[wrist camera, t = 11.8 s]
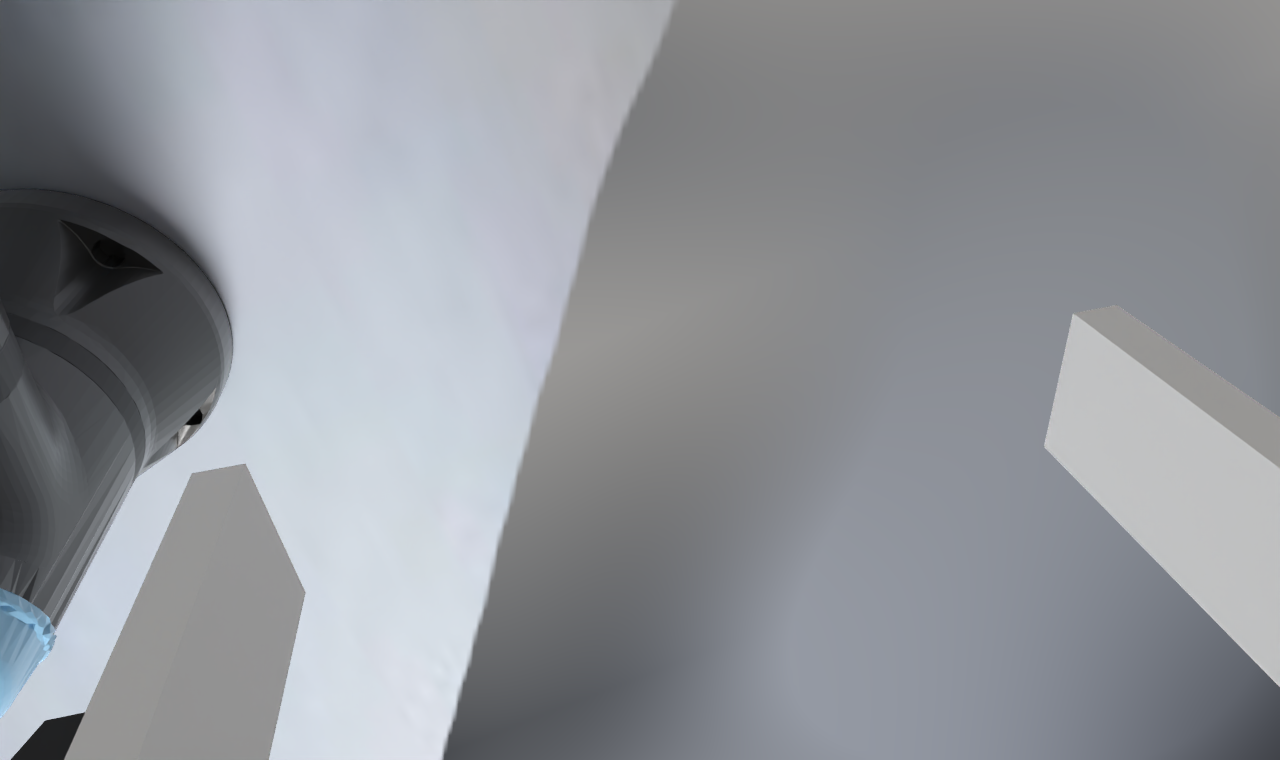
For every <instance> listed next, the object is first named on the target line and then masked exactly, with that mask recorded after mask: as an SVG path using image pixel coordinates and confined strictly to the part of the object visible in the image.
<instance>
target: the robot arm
mask: <svg viewBox="0 0 1280 760" xmlns="http://www.w3.org/2000/svg"><path fill="white" fill-rule="evenodd" d="M232 354H233V344H232V334H231V329H230V324H229V321H228V318H227V314H226V312H225V309H224V307H223V304H222V302H221V300H220V298H219V296H218V294H217V293H216V291H215V289H214V287H213V286H212V284H211V283H210V281H209V280H208V278H207V277H206V276H205V274H204V273H203V272H202V271H201V269H200V268H199V267H198V266H197V265H196V264H195V263H194V261H193V260H192V259H191V258H190V257H189V256H188V255H187V254H186V253H185V252H184V251H183V250H181V249H180V248H179V247H178V246H177V245H176V244H175V243H173V242H172V241H171V240H169V239H168V238H167V237H166V236H164V235H163V234H161V233H160V232H159V231H157V230H156V229H154V228H153V227H151V226H149V225H148V224H146V223H144V222H143V221H141V220H139V219H137V218H135V217H133V216H132V215H130V214H128V213H125V212H123V211H121V210H119V209H117V208H114V207H112V206H109V205H106V204H104V203H101V202H98V201H95V200H92V199H88V198H85V197H81V196H77V195H72V194H68V193H62V192H56V191H48V190H36V189H15V190H3V191H0V718H1V717H2V716H3V715H4V714H5V712H6V711H7V710H8V709H9V707H10V706H11V704H12V703H13V701H14V700H15V698H16V696H17V695H18V693H19V692H20V690H21V689H22V687H23V686H24V685H25V683H26V682H27V680H28V679H29V677H30V676H31V674H32V673H33V671H34V670H35V668H36V667H37V665H38V664H39V663H41V662H42V661H43V660H44V659H45V658H46V657H47V656H48V655H49V653H50V651H51V650H52V648H53V645H54V642H55V641H54V640H55V638H56V635H54V633H55V631H56V629H57V627H58V625H59V623H60V621H61V619H62V617H63V616H64V614H65V612H66V610H67V608H68V606H69V604H70V602H71V600H72V599H73V597H74V595H75V593H76V591H77V589H78V587H79V585H80V583H81V581H82V580H83V578H84V576H85V574H86V572H87V570H88V568H89V566H90V564H91V563H92V561H93V559H94V557H95V555H96V553H97V551H98V549H99V547H100V545H101V544H102V542H103V540H104V538H105V536H106V534H107V532H108V530H109V528H110V527H111V525H112V523H113V521H114V519H115V517H116V515H117V513H118V511H119V509H120V508H121V506H122V504H123V502H124V500H125V498H126V496H127V494H128V492H129V490H130V488H131V486H132V484H133V482H134V481H135V479H136V478H137V477H138V476H140V475H141V474H142V473H144V472H145V471H147V470H148V469H149V468H151V467H152V466H154V465H155V464H156V463H158V462H159V461H160V460H162V459H163V458H165V457H166V456H167V455H169V454H170V453H172V452H173V451H174V450H176V449H177V448H178V447H180V446H181V445H182V444H184V443H185V442H186V441H187V440H189V439H190V438H191V437H192V436H193V435H194V434H195V433H196V432H197V431H198V430H199V429H200V428H201V427H202V425H203V424H204V423H205V422H206V420H207V419H208V418H209V416H210V415H211V413H212V411H213V410H214V408H215V406H216V404H217V402H218V399H219V397H220V395H221V393H222V391H223V389H224V387H225V384H226V382H227V379H228V376H229V373H230V369H231V363H232ZM1044 447H1045V448H1046V449H1047V450H1048V451H1049V452H1050V453H1051V454H1052V455H1053V456H1054V457H1055V458H1056V459H1057V460H1058V461H1059V462H1060V463H1061V464H1062V465H1063V466H1064V467H1065V468H1066V469H1067V471H1068V472H1069V473H1070V474H1071V475H1072V476H1074V478H1075V479H1076V480H1077V481H1078V482H1079V483H1080V484H1081V485H1082V486H1084V488H1085V489H1086V490H1087V491H1088V492H1089V493H1090V494H1091V495H1092V496H1093V497H1094V498H1095V499H1096V500H1097V501H1098V502H1099V503H1100V504H1101V505H1102V506H1103V507H1104V508H1105V509H1106V510H1107V511H1108V512H1109V513H1110V514H1111V515H1112V516H1113V517H1114V518H1115V519H1116V520H1117V522H1118V523H1119V524H1121V526H1122V527H1123V528H1124V529H1125V530H1126V531H1127V532H1128V533H1129V534H1130V535H1131V536H1132V537H1133V538H1134V539H1135V540H1136V541H1137V542H1138V543H1139V544H1140V545H1141V546H1142V547H1143V548H1144V549H1145V550H1146V551H1147V552H1148V553H1149V554H1150V555H1151V556H1152V557H1153V558H1154V559H1155V560H1156V561H1157V562H1158V563H1159V564H1160V565H1161V566H1162V567H1163V568H1164V569H1165V570H1166V571H1167V572H1168V573H1169V574H1170V575H1171V577H1172V578H1173V579H1174V580H1175V581H1176V582H1177V583H1178V584H1179V585H1180V586H1181V587H1182V588H1183V589H1184V590H1185V591H1186V592H1187V593H1188V594H1189V595H1190V596H1191V597H1192V598H1193V599H1194V600H1195V601H1196V602H1197V603H1198V604H1199V605H1200V606H1201V607H1202V608H1203V609H1204V610H1205V611H1206V612H1207V613H1208V614H1209V615H1210V616H1211V617H1212V618H1213V619H1214V620H1215V621H1216V622H1217V623H1218V625H1219V626H1220V627H1221V628H1222V629H1224V631H1225V632H1226V633H1227V634H1228V635H1230V636H1231V638H1232V639H1233V640H1234V641H1235V642H1236V643H1237V644H1238V645H1239V646H1240V647H1241V648H1242V649H1243V650H1244V651H1245V652H1246V653H1247V654H1248V655H1249V656H1250V657H1251V658H1252V659H1253V660H1254V661H1255V662H1256V663H1257V664H1258V665H1259V666H1260V667H1261V668H1262V669H1263V670H1264V671H1265V672H1266V673H1267V675H1269V677H1270V678H1272V680H1273V681H1274V682H1275V683H1276V684H1277V685H1278V686H1279V687H1280V417H1278V416H1277V415H1276V414H1274V413H1273V412H1271V411H1270V410H1268V409H1267V408H1265V407H1264V406H1262V405H1261V404H1260V403H1258V402H1256V401H1255V400H1254V399H1252V398H1251V397H1249V396H1248V395H1246V394H1245V393H1244V392H1242V391H1241V390H1239V389H1238V388H1236V387H1235V386H1233V385H1232V384H1230V383H1229V382H1228V381H1226V380H1225V379H1223V378H1222V377H1220V376H1219V375H1217V374H1216V373H1215V372H1213V371H1212V370H1210V369H1209V368H1207V367H1206V366H1204V365H1203V364H1201V363H1200V362H1199V361H1197V360H1196V359H1194V358H1193V357H1191V356H1190V355H1188V354H1187V353H1185V352H1184V351H1183V350H1181V349H1180V348H1178V347H1177V346H1175V345H1174V344H1172V343H1171V342H1169V341H1168V340H1167V339H1165V338H1164V337H1162V336H1161V335H1159V334H1158V333H1156V332H1155V331H1153V330H1152V329H1151V328H1149V327H1148V326H1146V325H1145V324H1143V323H1142V322H1140V321H1139V320H1137V319H1136V318H1135V317H1133V316H1132V315H1130V314H1129V313H1127V312H1126V311H1124V310H1123V309H1122V308H1120V307H1119V306H1117V305H1115V306H1111V307H1104V308H1099V309H1093V310H1088V311H1082V312H1077V313H1073V316H1072V321H1071V325H1070V330H1069V334H1068V339H1067V344H1066V348H1065V353H1064V358H1063V362H1062V367H1061V371H1060V376H1059V380H1058V385H1057V390H1056V395H1055V399H1054V404H1053V408H1052V413H1051V417H1050V422H1049V426H1048V431H1047V436H1046V441H1045V445H1044ZM304 597H305V591H304V588H303V586H302V584H301V582H300V580H299V578H298V576H297V573H296V571H295V569H294V567H293V565H292V563H291V560H290V558H289V556H288V554H287V552H286V550H285V548H284V545H283V543H282V541H281V539H280V537H279V535H278V532H277V530H276V528H275V526H274V524H273V522H272V520H271V517H270V515H269V513H268V511H267V509H266V507H265V504H264V502H263V500H262V498H261V496H260V494H259V492H258V489H257V487H256V485H255V483H254V481H253V479H252V477H251V474H250V472H249V470H248V468H247V466H246V464H241V465H236V466H230V467H225V468H219V469H214V470H208V471H203V472H197V473H192V475H191V477H190V479H189V481H188V484H187V486H186V488H185V490H184V493H183V495H182V497H181V499H180V502H179V504H178V506H177V508H176V511H175V513H174V515H173V517H172V519H171V522H170V524H169V526H168V528H167V531H166V533H165V535H164V537H163V540H162V542H161V544H160V546H159V549H158V551H157V553H156V555H155V558H154V560H153V562H152V564H151V566H150V569H149V571H148V573H147V575H146V578H145V580H144V582H143V584H142V587H141V589H140V591H139V593H138V596H137V598H136V600H135V602H134V604H133V607H132V609H131V611H130V613H129V616H128V618H127V620H126V622H125V625H124V627H123V629H122V631H121V634H120V636H119V638H118V640H117V642H116V645H115V647H114V649H113V651H112V654H111V656H110V658H109V660H108V663H107V665H106V667H105V669H104V672H103V674H102V676H101V678H100V681H99V683H98V685H97V687H96V689H95V692H94V694H93V696H92V698H91V701H90V703H89V705H88V707H87V710H86V712H85V713H80V714H75V715H70V716H66V717H61V718H56V719H51V720H46V721H44V723H43V724H42V725H41V726H40V727H39V728H38V729H37V731H36V732H35V733H34V734H33V735H32V736H31V737H30V738H29V740H28V741H27V742H26V743H25V744H24V745H23V746H22V748H21V749H20V750H19V751H18V752H17V753H16V754H15V755H14V757H13V758H12V759H11V760H269V756H270V751H271V747H272V742H273V737H274V733H275V728H276V724H277V719H278V715H279V710H280V706H281V701H282V697H283V692H284V688H285V683H286V678H287V674H288V669H289V665H290V660H291V656H292V651H293V647H294V642H295V638H296V633H297V629H298V624H299V619H300V615H301V610H302V606H303V601H304Z"/></svg>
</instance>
